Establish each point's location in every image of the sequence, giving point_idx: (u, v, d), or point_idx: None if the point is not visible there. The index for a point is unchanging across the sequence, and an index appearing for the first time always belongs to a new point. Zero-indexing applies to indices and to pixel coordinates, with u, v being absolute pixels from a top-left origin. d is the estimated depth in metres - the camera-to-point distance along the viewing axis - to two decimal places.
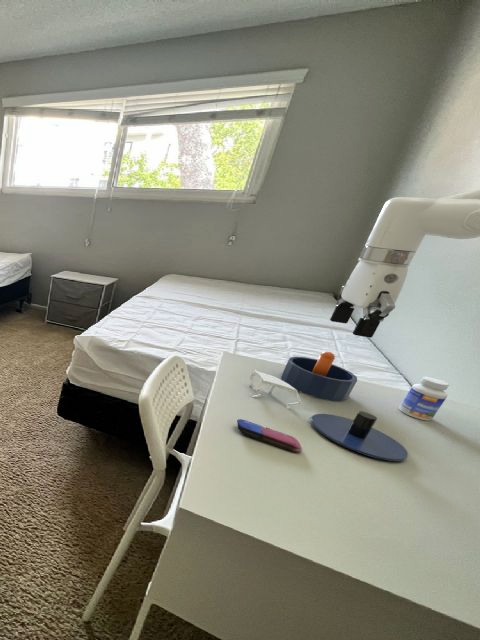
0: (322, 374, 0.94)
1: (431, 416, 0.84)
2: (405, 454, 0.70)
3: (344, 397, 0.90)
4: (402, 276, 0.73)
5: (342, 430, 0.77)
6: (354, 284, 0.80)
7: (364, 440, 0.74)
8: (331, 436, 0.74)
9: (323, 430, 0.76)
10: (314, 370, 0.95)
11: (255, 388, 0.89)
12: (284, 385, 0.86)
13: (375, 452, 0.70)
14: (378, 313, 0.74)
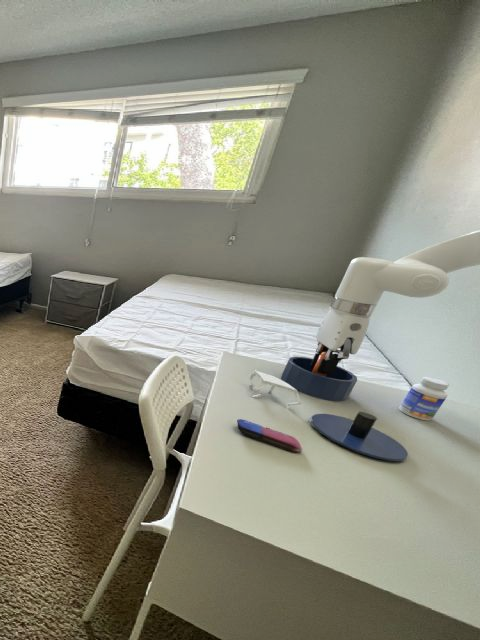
0: (322, 374, 0.94)
1: (431, 416, 0.84)
2: (405, 454, 0.70)
3: (344, 397, 0.90)
4: (365, 326, 0.85)
5: (342, 430, 0.77)
6: (326, 328, 0.92)
7: (364, 440, 0.74)
8: (331, 436, 0.74)
9: (323, 430, 0.76)
10: (314, 370, 0.95)
11: (255, 388, 0.89)
12: (284, 385, 0.86)
13: (375, 452, 0.70)
14: (335, 356, 0.89)
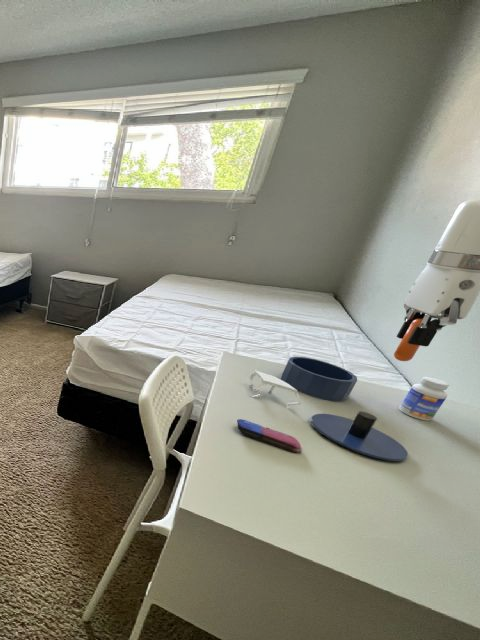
0: (414, 346, 0.78)
1: (431, 416, 0.84)
2: (405, 454, 0.70)
3: (344, 397, 0.90)
4: (479, 283, 0.69)
5: (342, 430, 0.77)
6: (421, 290, 0.76)
7: (364, 440, 0.74)
8: (331, 436, 0.74)
9: (323, 430, 0.76)
10: (403, 341, 0.79)
11: (255, 388, 0.89)
12: (284, 385, 0.86)
13: (375, 452, 0.70)
14: (437, 322, 0.73)
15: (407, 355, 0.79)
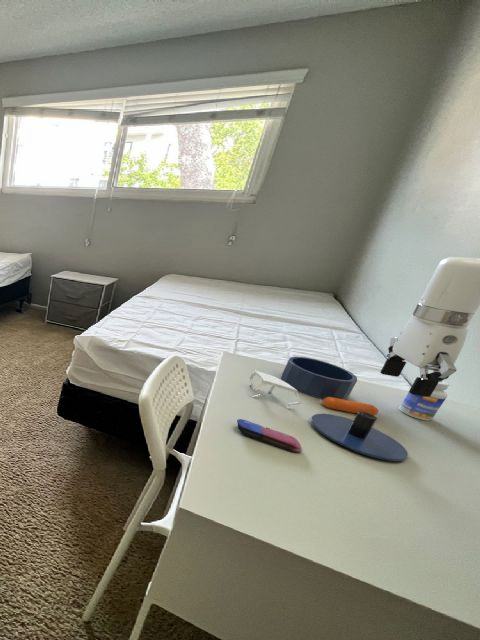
0: (358, 410, 0.84)
1: (431, 416, 0.84)
2: (405, 454, 0.70)
3: (344, 397, 0.90)
4: (462, 338, 0.71)
5: (342, 430, 0.77)
6: (408, 341, 0.79)
7: (364, 440, 0.74)
8: (331, 436, 0.74)
9: (323, 430, 0.76)
10: None
11: (255, 388, 0.89)
12: (284, 385, 0.86)
13: (375, 452, 0.70)
14: (437, 375, 0.72)
15: (370, 413, 0.84)
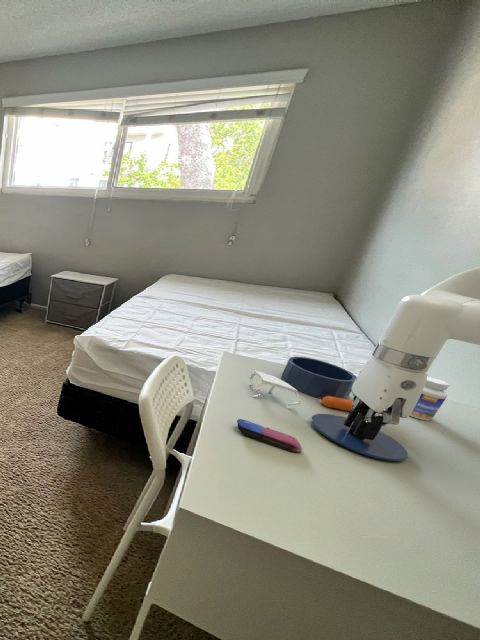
0: None
1: (431, 416, 0.84)
2: (405, 454, 0.70)
3: (344, 397, 0.90)
4: (421, 384, 0.65)
5: (342, 430, 0.77)
6: (366, 382, 0.73)
7: (364, 440, 0.74)
8: (331, 436, 0.74)
9: (323, 430, 0.76)
10: None
11: (255, 388, 0.89)
12: (284, 385, 0.86)
13: (375, 452, 0.70)
14: (380, 419, 0.70)
15: None
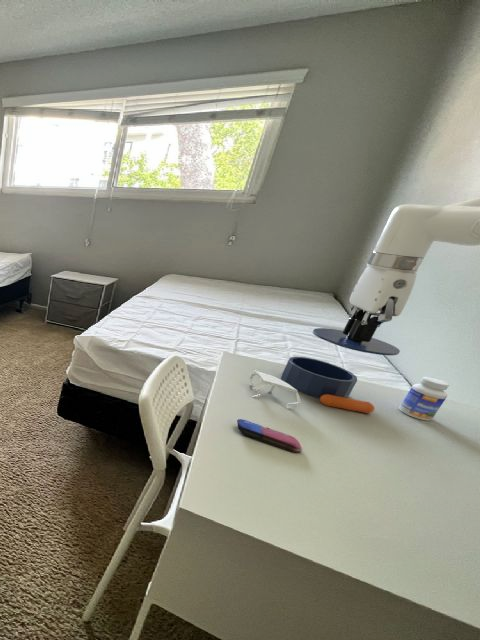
0: (355, 402, 0.85)
1: (431, 416, 0.84)
2: (397, 351, 0.79)
3: (344, 397, 0.90)
4: (411, 282, 0.74)
5: (341, 337, 0.85)
6: (362, 289, 0.81)
7: (361, 343, 0.82)
8: (332, 340, 0.83)
9: (324, 337, 0.85)
10: (351, 409, 0.86)
11: (255, 388, 0.89)
12: (284, 385, 0.86)
13: (371, 349, 0.79)
14: (375, 319, 0.78)
15: (367, 406, 0.85)
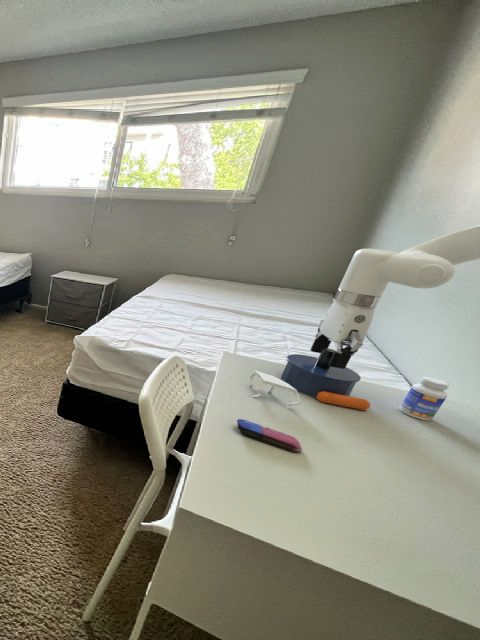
0: None
1: (431, 416, 0.84)
2: (358, 378, 0.89)
3: None
4: (369, 317, 0.84)
5: (310, 364, 0.95)
6: (330, 321, 0.91)
7: (327, 370, 0.92)
8: (301, 367, 0.93)
9: (295, 363, 0.95)
10: (350, 401, 0.87)
11: (255, 388, 0.89)
12: (284, 385, 0.86)
13: (335, 376, 0.89)
14: (349, 349, 0.85)
15: (361, 398, 0.87)
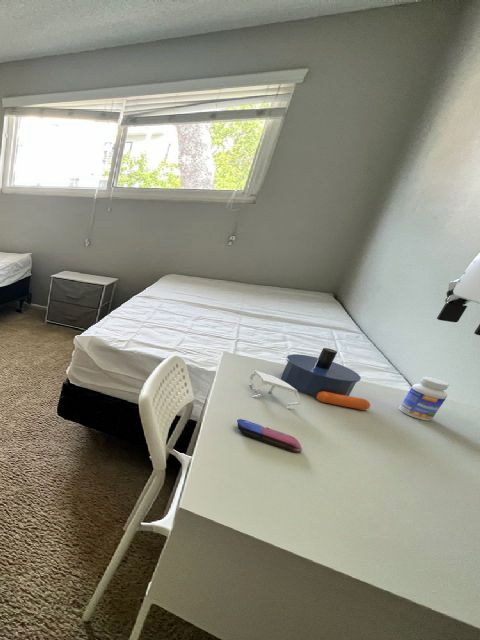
0: None
1: (431, 416, 0.84)
2: (358, 378, 0.89)
3: None
4: None
5: (310, 364, 0.95)
6: (474, 279, 0.73)
7: (327, 370, 0.92)
8: (301, 367, 0.93)
9: (295, 363, 0.95)
10: (350, 401, 0.87)
11: (255, 388, 0.89)
12: (284, 385, 0.86)
13: (335, 376, 0.89)
14: None
15: (361, 398, 0.87)
